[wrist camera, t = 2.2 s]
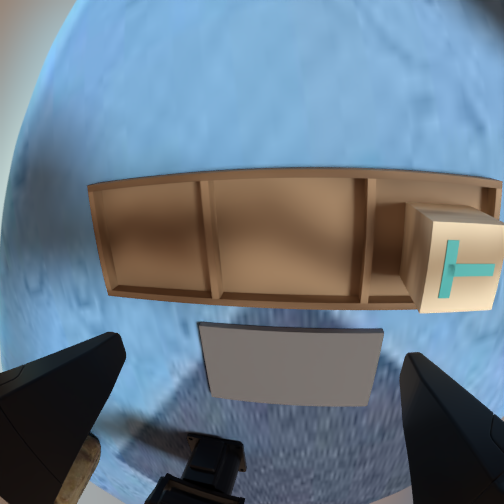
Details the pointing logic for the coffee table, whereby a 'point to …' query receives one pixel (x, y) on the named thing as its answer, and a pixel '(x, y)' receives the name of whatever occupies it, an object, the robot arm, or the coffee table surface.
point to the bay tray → (269, 234)
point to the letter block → (451, 257)
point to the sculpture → (80, 472)
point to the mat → (291, 364)
